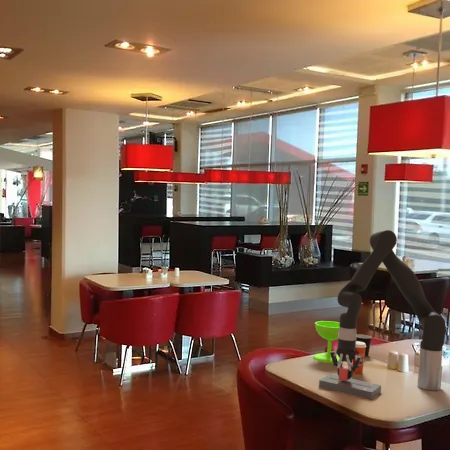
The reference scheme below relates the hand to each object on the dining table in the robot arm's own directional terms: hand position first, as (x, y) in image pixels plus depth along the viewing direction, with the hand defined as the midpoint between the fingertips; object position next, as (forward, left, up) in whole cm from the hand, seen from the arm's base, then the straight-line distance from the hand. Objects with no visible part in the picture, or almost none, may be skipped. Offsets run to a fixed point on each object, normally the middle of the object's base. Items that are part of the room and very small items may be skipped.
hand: (344, 377), depth 238 cm
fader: (0, 0, -1) cm, 1 cm away
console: (-2, 0, -5) cm, 5 cm away
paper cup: (+4, -28, -5) cm, 29 cm away
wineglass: (+23, -40, -5) cm, 47 cm away
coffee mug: (+14, -60, -5) cm, 62 cm away
